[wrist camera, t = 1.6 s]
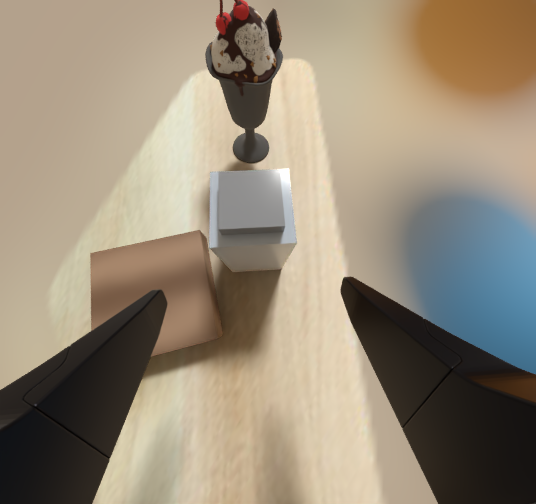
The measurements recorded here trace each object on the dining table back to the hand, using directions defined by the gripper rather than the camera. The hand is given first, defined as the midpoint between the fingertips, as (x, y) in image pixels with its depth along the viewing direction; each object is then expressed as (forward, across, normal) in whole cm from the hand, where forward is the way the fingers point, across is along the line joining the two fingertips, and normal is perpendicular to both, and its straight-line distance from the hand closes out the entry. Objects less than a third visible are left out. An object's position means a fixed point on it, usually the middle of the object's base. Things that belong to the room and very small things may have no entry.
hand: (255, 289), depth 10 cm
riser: (+9, +10, +8) cm, 16 cm away
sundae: (+23, 0, -5) cm, 23 cm away
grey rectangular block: (+12, 0, +4) cm, 13 cm away
